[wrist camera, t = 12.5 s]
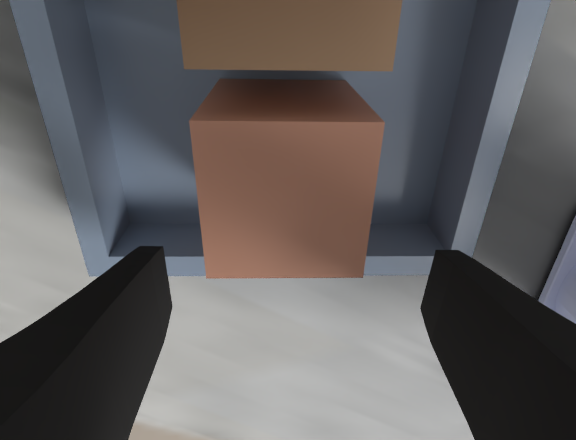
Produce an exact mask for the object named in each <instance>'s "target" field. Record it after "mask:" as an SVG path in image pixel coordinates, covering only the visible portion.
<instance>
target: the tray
mask: <svg viewBox="0 0 576 440" xmlns="http://www.w3.org/2000/svg"><path fill="white" fill-rule="evenodd" d="M9 2H10V6H11V9H12V13H13V16H14V19H15V23H16V26H17V30H18V33H19V37H20V40H21V43H22V47H23V50H24V54H25V57H26V61H27V64H28V68H29V71H30V74H31V78H32V81H33V85H34V88H35V92H36V95H37V98H38V102H39V105H40V109H41V112H42V116H43V119H44V123H45V126H46V129H47V133H48V136H49V140H50V143H51V147H52V150H53V154H54V157H55V160H56V164H57V167H58V171H59V174H60V178H61V181H62V184H63V188H64V191H65V195H66V198H67V202H68V205H69V209H70V212H71V215H72V219H73V222H74V226H75V229H76V233H77V236H78V239H79V243H80V246H81V250H82V253H83V257H84V260H85V264H86V267H87V270H88V274H89V276H100V275H102V274H103V273H104V272H106V271H107V270H108V269H110V268H111V267H112V266H113V265H115V264H116V263H117V262H119V261H120V260H121V259H122V258H124V257H125V256H126V255H128V254H129V253H130V252H132V251H133V250H134V249H136V248H137V247H139V246H163V248H164V255H165V261H166V268H167V275H168V276H206V271H205V262H204V253H203V244H202V235H201V225H200V216H199V207H198V198H197V188H196V179H195V170H194V161H193V151H192V142H191V133H190V124H189V120H190V119H191V117H192V116H193V115H194V113H195V112H196V111H197V109H198V108H199V106H200V105H201V104H202V102H203V101H204V100H205V98H206V97H207V95H208V94H209V93H210V91H211V90H212V89H213V87H214V86H215V84H216V83H217V82H218V80H219V79H288V80H346V81H347V82H348V83H349V84H350V85H351V86H352V87H353V89H354V90H355V91H356V92H357V93H358V94H359V95H360V96H361V97H362V98H363V99H364V100H365V101H366V103H367V104H368V105H369V106H370V107H371V108H372V109H373V110H374V111H375V112H376V113H377V114H378V115H379V117H380V118H381V119H382V120H383V121H384V122H385V126H384V133H383V140H382V147H381V154H380V161H379V168H378V175H377V183H376V190H375V197H374V204H373V211H372V218H371V225H370V232H369V239H368V246H367V253H366V260H365V268H364V275H429V273H430V270H431V266H432V262H433V258H434V254H435V250H459V251H461V252H463V253H465V254H466V255H468V256H470V257H471V258H472V256H473V253H474V249H475V246H476V243H477V240H478V236H479V233H480V230H481V227H482V223H483V220H484V217H485V214H486V210H487V207H488V204H489V200H490V197H491V194H492V191H493V187H494V184H495V181H496V178H497V174H498V171H499V168H500V165H501V161H502V158H503V155H504V152H505V148H506V145H507V142H508V139H509V135H510V132H511V129H512V126H513V122H514V119H515V116H516V112H517V109H518V106H519V103H520V99H521V96H522V93H523V90H524V86H525V83H526V80H527V77H528V73H529V70H530V67H531V64H532V60H533V57H534V54H535V51H536V47H537V44H538V41H539V38H540V34H541V31H542V28H543V25H544V21H545V18H546V15H547V11H548V8H549V5H550V2H551V0H402V7H401V15H400V22H399V29H398V36H397V43H396V51H395V58H394V65H393V71H300V70H203V69H184V64H183V55H182V46H181V37H180V28H179V19H178V10H177V1H176V0H9Z"/></svg>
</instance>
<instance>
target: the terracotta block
mask: <svg viewBox="0 0 576 440" xmlns="http://www.w3.org/2000/svg"><path fill="white" fill-rule="evenodd" d="M189 124H190V133H191V142H192V151H193V161H194V170H195V179H196V188H197V198H198V207H199V216H200V225H201V235H202V244H203V253H204V262H205V271H206V278H363V275H364V268H365V260H366V253H367V246H368V239H369V232H370V225H371V218H372V211H373V204H374V197H375V190H376V183H377V175H378V168H379V161H380V154H381V147H382V140H383V133H384V126H385V122H384V121H383V120H382V119H381V118H380V117H379V115H378V114H377V113H376V112H375V111H374V110H373V109H372V108H371V107H370V106H369V105H368V104H367V103H366V101H365V100H364V99H363V98H362V97H361V96H360V95H359V94H358V93H357V92H356V91H355V90H354V89H353V87H352V86H351V85H350V84H349V83H348V82H347V81H346V80H288V79H219V80H218V82H217V83H216V84H215V86H214V87H213V89H212V90H211V91H210V93H209V94H208V95H207V97H206V98H205V100H204V101H203V102H202V104H201V105H200V106H199V108H198V109H197V111H196V112H195V113H194V115H193V116H192V117H191V119H190V120H189Z"/></svg>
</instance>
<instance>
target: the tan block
mask: <svg viewBox="0 0 576 440" xmlns="http://www.w3.org/2000/svg"><path fill="white" fill-rule="evenodd" d="M176 1H177V10H178V19H179V28H180V37H181V46H182V55H183V64H184V69H203V70H300V71H393V65H394V58H395V51H396V43H397V36H398V29H399V22H400V15H401V7H402V0H176Z"/></svg>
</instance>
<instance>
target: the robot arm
mask: <svg viewBox="0 0 576 440" xmlns="http://www.w3.org/2000/svg"><path fill="white" fill-rule="evenodd" d="M420 309H421V312H422V316H423V319H424V323H425V326H426V329H427V332H428V335H429V339H430V342H431V344H432V346H433V349H434V351H435V353H436V355H437V358H438V360H439V362H440V364H441V366H442V369H443V371H444V373H445V375H446V377H447V379H448V381H449V384H450V386H451V388H452V390H453V392H454V394H455V397H456V399H457V401H458V403H459V405H460V407H461V409H462V412H463V414H464V416H465V418H466V420H467V422H468V425H469V427H470V430H471V432H472V434H473V437H474V439H475V440H576V215H575V218H574V220H573V222H572V225H571V227H570V229H569V231H568V234H567V236H566V238H565V240H564V243H563V245H562V247H561V250H560V252H559V254H558V256H557V259H556V261H555V263H554V266H553V268H552V270H551V272H550V275H549V277H548V279H547V282H546V284H545V286H544V288H543V291H542V293H541V295H540V298H539V300H538V301H537V300H536V299H534V298H533V297H531V296H529V295H528V294H526V293H525V292H523V291H522V290H520V289H519V288H517V287H516V286H514V285H512V284H511V283H509V282H508V281H506V280H505V279H503V278H502V277H500V276H499V275H497V274H496V273H494V272H493V271H491V270H490V269H488V268H487V267H485V266H484V265H482V264H481V263H479V262H478V261H476V260H475V259H473V258H471V257H470V256H468V255H466V254H465V253H463V252H461V251H459V250H435V254H434V258H433V262H432V266H431V270H430V273H429V277H428V281H427V285H426V289H425V293H424V296H423V300H422V304H421V308H420ZM171 310H172V301H171V294H170V288H169V281H168V275H167V268H166V261H165V255H164V248H163V246H139V247H137V248H136V249H134V250H133V251H132V252H130V253H129V254H128V255H126V256H125V257H124V258H122V259H121V260H120V261H119V262H117V263H116V264H115V265H113V266H112V267H111V268H110V269H108V270H107V271H106V272H104V273H103V274H102V275H100V276H99V277H98V278H97V279H95V280H94V281H93V282H91V283H90V284H89V285H87V286H86V287H85V288H83V289H82V290H81V291H79V292H78V293H76V294H75V295H74V296H72V297H71V298H69V299H68V300H66V301H65V302H63V303H62V304H61V305H59V306H58V307H56V308H55V309H53V310H52V311H51V312H49V313H48V314H46V315H45V316H43V317H42V318H40V319H39V320H37V321H36V322H34V323H33V324H31V325H29V326H28V327H26V328H25V329H23V330H21V331H20V332H18V333H16V334H15V335H13V336H11V337H10V338H8V339H6V340H5V341H3V342H1V343H0V440H128V438H129V435H130V432H131V429H132V426H133V423H134V420H135V418H136V415H137V412H138V410H139V407H140V405H141V402H142V399H143V397H144V394H145V391H146V389H147V386H148V383H149V381H150V378H151V376H152V373H153V370H154V368H155V365H156V362H157V360H158V357H159V354H160V351H161V349H162V346H163V343H164V340H165V336H166V332H167V328H168V324H169V319H170V315H171Z"/></svg>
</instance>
